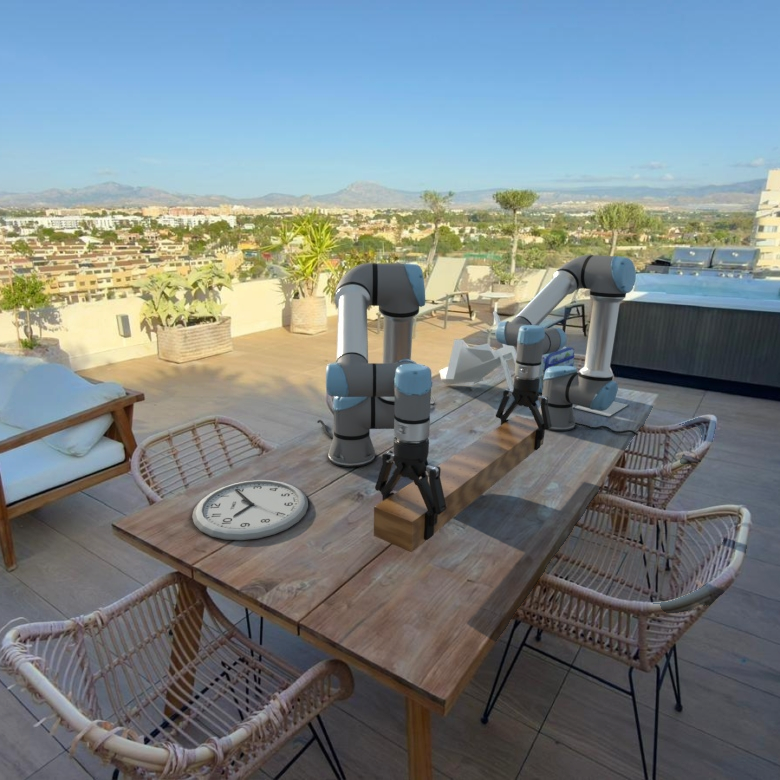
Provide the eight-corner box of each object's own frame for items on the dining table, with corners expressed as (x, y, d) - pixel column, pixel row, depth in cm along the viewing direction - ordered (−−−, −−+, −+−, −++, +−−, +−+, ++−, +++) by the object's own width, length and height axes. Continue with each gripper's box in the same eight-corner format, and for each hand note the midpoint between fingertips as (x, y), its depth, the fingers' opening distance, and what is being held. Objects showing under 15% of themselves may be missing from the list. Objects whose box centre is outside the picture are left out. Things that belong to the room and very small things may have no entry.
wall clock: (304, 532, 127) (176, 536, 124) (304, 538, 127) (177, 542, 125) (311, 475, 155) (207, 478, 153) (311, 480, 156) (208, 483, 153)
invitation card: (608, 416, 214) (573, 407, 224) (608, 416, 214) (573, 408, 224) (628, 404, 229) (594, 396, 238) (628, 405, 229) (594, 397, 238)
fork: (420, 411, 216) (420, 406, 216) (430, 400, 230) (431, 395, 230) (426, 412, 215) (426, 407, 215) (436, 401, 230) (436, 396, 229)
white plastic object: (461, 429, 252) (437, 405, 227) (444, 352, 274) (420, 323, 250) (535, 404, 240) (518, 377, 215) (510, 326, 262) (492, 293, 237)
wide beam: (513, 436, 173) (515, 415, 171) (543, 444, 168) (545, 422, 165) (373, 535, 116) (373, 506, 114) (411, 552, 110) (412, 522, 108)
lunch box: (546, 398, 236) (551, 353, 229) (525, 393, 243) (529, 349, 237) (573, 387, 253) (579, 344, 247) (553, 382, 260) (558, 341, 254)
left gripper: (359, 429, 114) (359, 518, 121) (448, 457, 101) (442, 555, 108) (380, 420, 120) (379, 505, 127) (467, 445, 107) (461, 539, 114)
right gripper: (487, 372, 163) (482, 438, 169) (559, 386, 149) (551, 457, 156) (498, 367, 168) (493, 431, 175) (568, 380, 155) (560, 449, 162)
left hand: (408, 528), depth 118 cm, fingers closed on wide beam, 10 cm apart
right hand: (520, 443), depth 165 cm, fingers closed on wide beam, 10 cm apart
